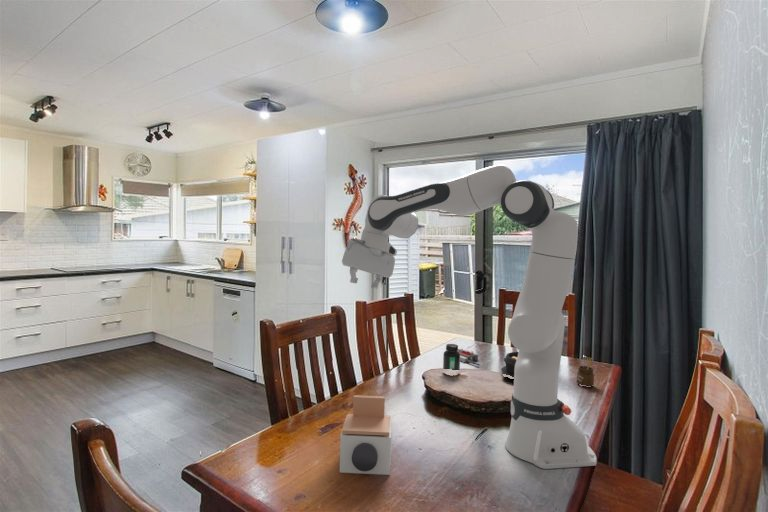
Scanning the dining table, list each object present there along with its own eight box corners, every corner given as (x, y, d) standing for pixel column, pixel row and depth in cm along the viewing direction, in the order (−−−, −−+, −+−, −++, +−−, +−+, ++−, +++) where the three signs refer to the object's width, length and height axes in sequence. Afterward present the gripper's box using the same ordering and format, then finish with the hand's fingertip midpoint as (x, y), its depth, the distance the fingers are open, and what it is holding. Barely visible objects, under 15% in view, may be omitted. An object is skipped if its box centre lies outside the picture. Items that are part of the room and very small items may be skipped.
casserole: (537, 390, 155) (538, 368, 155) (490, 379, 167) (491, 358, 166) (556, 374, 175) (557, 354, 174) (513, 365, 186) (514, 346, 186)
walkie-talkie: (446, 356, 198) (477, 368, 181) (446, 347, 197) (477, 358, 181) (459, 354, 202) (491, 365, 186) (459, 345, 202) (491, 355, 186)
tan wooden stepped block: (390, 418, 108) (390, 396, 107) (389, 435, 98) (389, 411, 98) (347, 416, 108) (347, 395, 108) (342, 433, 99) (342, 409, 99)
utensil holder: (589, 383, 165) (591, 353, 164) (596, 388, 158) (597, 358, 158) (574, 382, 165) (575, 352, 165) (580, 388, 159) (581, 357, 158)
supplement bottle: (454, 377, 167) (455, 348, 167) (439, 374, 171) (440, 345, 171) (462, 373, 173) (463, 345, 172) (447, 369, 177) (448, 342, 176)
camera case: (391, 452, 108) (392, 419, 108) (389, 478, 97) (390, 441, 96) (345, 450, 109) (346, 417, 108) (338, 476, 97) (339, 438, 97)
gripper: (356, 236, 126) (346, 280, 124) (400, 252, 140) (391, 292, 139) (343, 235, 130) (333, 278, 129) (387, 250, 145) (378, 289, 143)
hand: (363, 285), depth 134 cm, fingers open, 8 cm apart
